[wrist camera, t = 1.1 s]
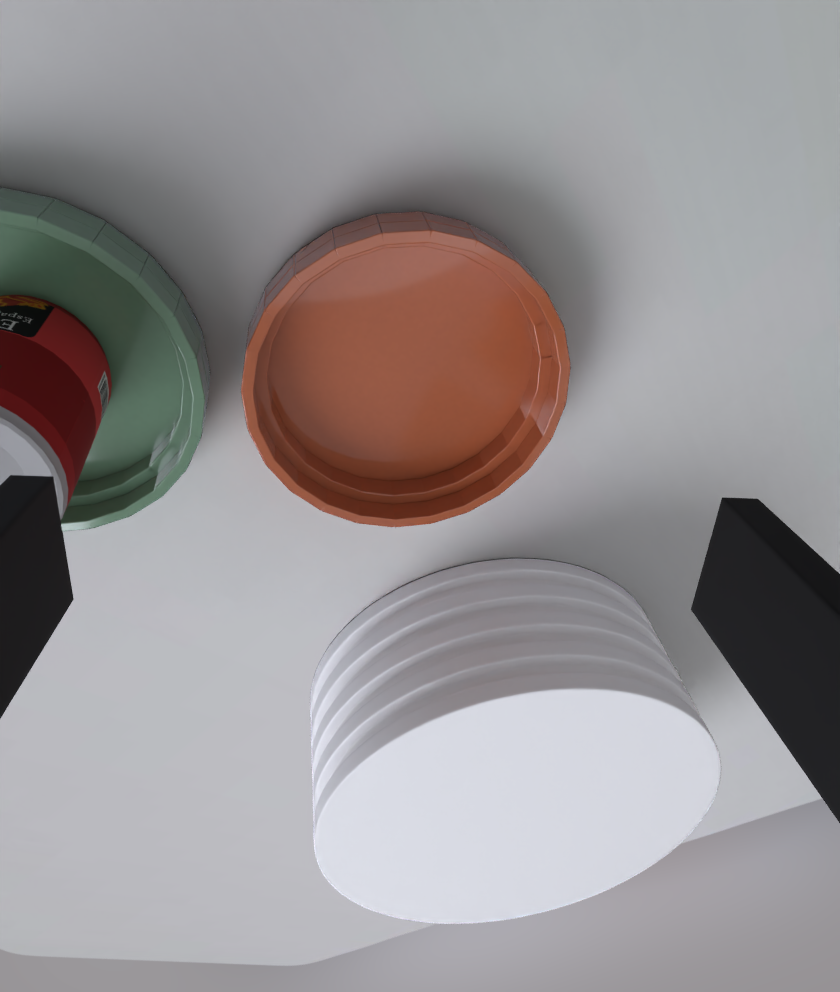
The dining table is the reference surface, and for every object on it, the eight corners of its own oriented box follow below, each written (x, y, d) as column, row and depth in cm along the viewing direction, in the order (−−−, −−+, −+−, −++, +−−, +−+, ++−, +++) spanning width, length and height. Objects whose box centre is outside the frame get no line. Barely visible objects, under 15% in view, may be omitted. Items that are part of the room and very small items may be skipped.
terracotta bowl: (220, 219, 35) (214, 241, 33) (566, 201, 37) (588, 221, 34) (268, 505, 45) (266, 540, 43) (538, 480, 47) (553, 511, 45)
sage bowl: (-232, 195, 32) (-280, 217, 29) (172, 177, 34) (162, 196, 31) (-71, 508, 42) (-96, 546, 39) (233, 481, 44) (229, 516, 41)
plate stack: (724, 621, 58) (806, 744, 49) (526, 812, 71) (561, 939, 62) (423, 506, 47) (456, 638, 38) (252, 757, 60) (246, 901, 51)
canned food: (42, 261, 35) (-40, 363, 26) (147, 392, 40) (107, 516, 31) (-87, 332, 36) (-209, 453, 27) (30, 452, 41) (-42, 588, 32)
